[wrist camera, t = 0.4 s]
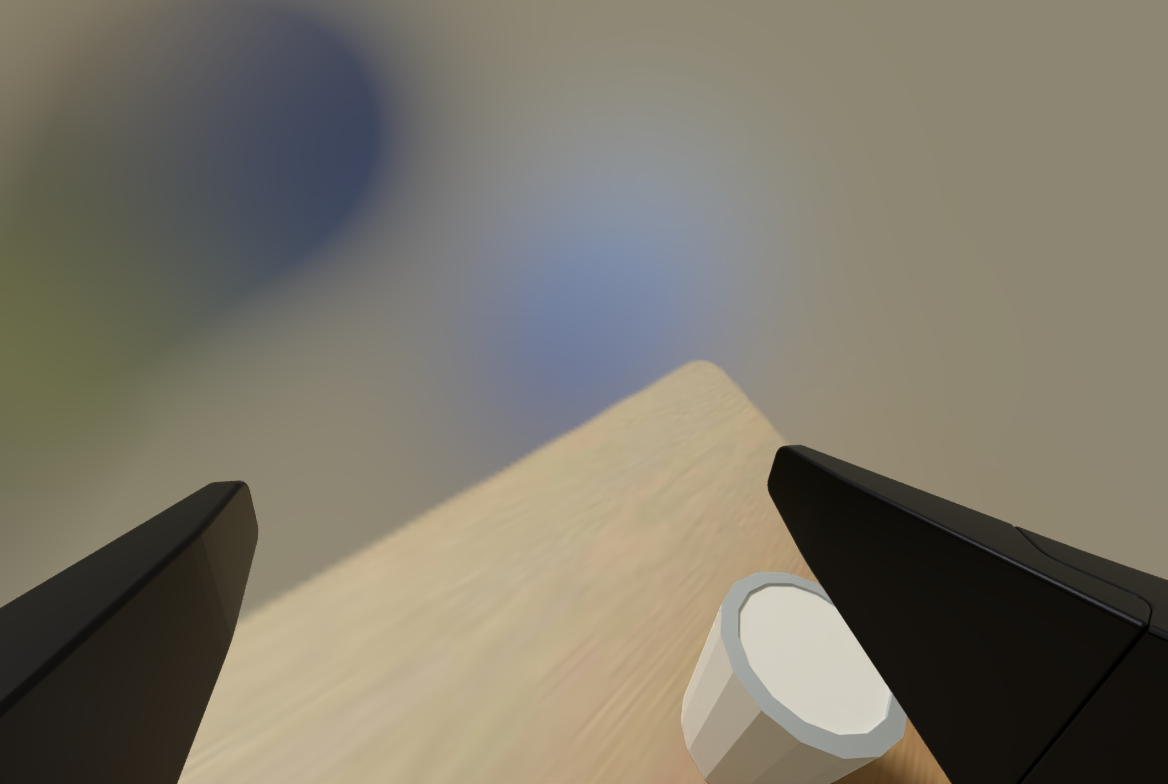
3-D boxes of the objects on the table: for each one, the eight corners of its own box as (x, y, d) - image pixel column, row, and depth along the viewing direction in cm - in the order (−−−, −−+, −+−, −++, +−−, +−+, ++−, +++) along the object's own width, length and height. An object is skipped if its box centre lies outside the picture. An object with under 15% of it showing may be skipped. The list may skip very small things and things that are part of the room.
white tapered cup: (663, 644, 25) (709, 555, 21) (795, 669, 25) (864, 585, 21) (672, 817, 19) (738, 737, 15) (844, 847, 19) (951, 776, 16)
